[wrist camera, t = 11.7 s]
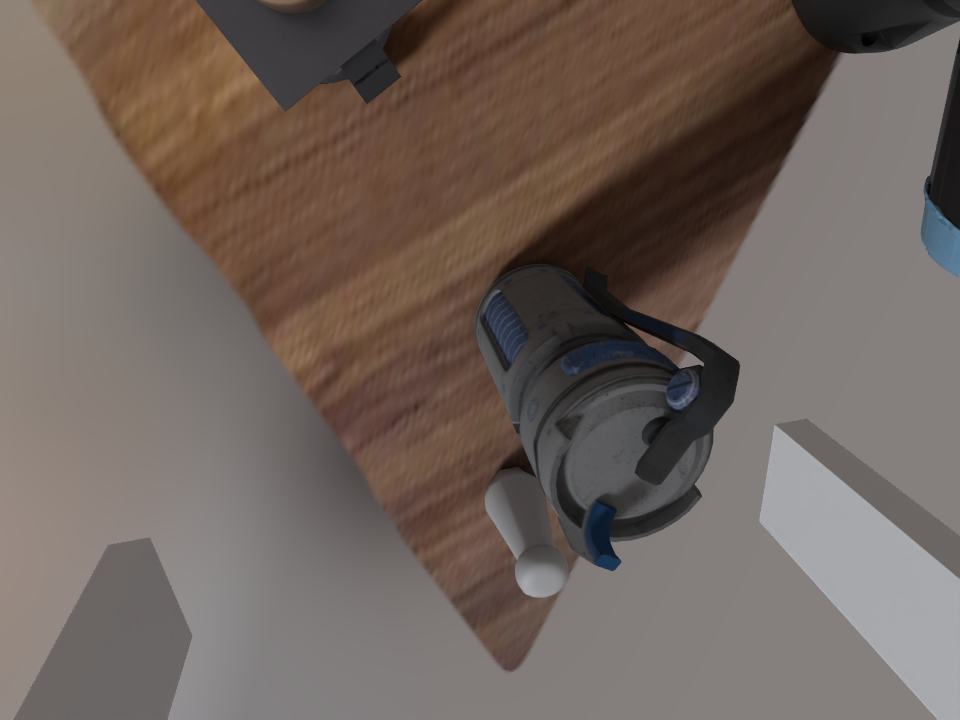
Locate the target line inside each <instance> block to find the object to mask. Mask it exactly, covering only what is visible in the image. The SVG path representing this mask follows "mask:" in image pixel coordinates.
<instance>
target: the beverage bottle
mask: <svg viewBox="0 0 960 720" xmlns="http://www.w3.org/2000/svg"><path fill="white" fill-rule="evenodd" d="M624 322H625V323H626V324H628V325H630V326H633V327H635V328H637V329H639V330H641V331H644V332H646V333H648V334H650V335H652V336H655V337H657V338H659V339H661V340H663V341H666V342H668V343H670V344H672V345H674V346H676V347H679V348H681V349H683V350H685V351H687V352H690V353H692V354H693V355H694V356H696V357H697V358H698V359H700V360H701V361H702V362H704V367H703V366H701V365H696V366H691V367H686V368H681V369H679V368H678V367H677V366H676V365H675V364H674V363H673V362H672V361H671V360H669V359H668V358H667V357H666V356H665V355H663V354H662V353H660V352H659V351H657V350H656V349H655V348H652V347H650V346H648V345H647V344H646V343H645V341H644V340H643V339H642V338H641V337H640V336H639V335H637V334H636V333H635V332H634V331H633V330H632V329H631V328H629V327H628V326H627V325H626V324H625V323H624ZM475 335H476V341H477V343H478V345H479V348H480V350H481V352H482V355H483V357H484V359H485V362H486V364H487V366H488V368H489V371H490V373H491V375H492V378H493V380H494V382H495V384H496V387H497V389H498V391H499V393H500V396H501V398H502V400H503V403H504V405H505V407H506V409H507V412H508V414H509V416H510V418H511V421H512V423H513V425H514V428H515V430H516V432H517V434H518V435H519V437H520V438H521V442H522V445H523V447H524V449H525V452H526V454H527V457H528V459H529V461H530V463H531V466H532V468H533V470H534V473H535V475H536V477H537V479H538V482H539V484H540V486H541V488H542V491H543V493H544V494H545V496H546V497H547V499H548V501H549V504H550V505H551V507H552V508H553V509H554V511H555V512H556V513H557V515H558V520H559V523H560V525H561V527H562V529H563V532H564V534H565V536H566V538H567V540H568V543H569V545H570V547H571V549H572V551H573V552H575V553H576V554H578V555H579V556H581V557H583V558H584V559H586V560H587V561H589V562H591V563H592V564H594V565H596V566H599V567H602V568H605V569H608V570H611V571H614V570H615V569H616V568H617V567H618V566H619V565H620V563H621V560H620V559H619V558H618V557H617V556H616V554H615V552H614V550H613V548H612V546H611V543H610V541H612V542H618V541H627V540H634V539H638V538H642V537H645V536H648V535H651V534H653V533H656V532H658V531H660V530H663V529H664V528H666V527H668V526H669V525H671V524H673V523H674V522H676V521H677V520H679V519H680V518H681V517H682V516H684V515H685V514H686V513H687V512H689V511H690V510H691V509H692V507H693V506H694V505H695V504H696V503H697V502H698V501H699V500H700V498H701V497H702V495H701V493H700V491H699V490H698V488H697V487H696V486H695V485H694V484H695V482H696V481H697V480H698V478H699V477H700V475H701V474H702V472H703V470H704V468H705V466H706V464H707V462H708V459H709V457H710V453H711V449H712V445H713V428H714V426H715V425H716V424H717V422H718V421H719V420H720V419H721V417H722V416H723V415H724V413H725V412H726V411H727V410H728V408H729V407H730V406H731V404H732V403H733V401H734V396H735V391H736V386H737V381H738V376H739V369H740V364H739V361H737V360H736V359H735V358H733V357H732V356H731V355H729V354H728V353H726V352H725V351H723V350H722V349H721V348H719V347H718V346H716V345H715V344H714V343H712V342H710V341H708V340H707V339H705V338H703V337H701V336H700V335H697V334H695V333H692V332H689V331H687V330H684V329H681V328H679V327H676V326H673V325H671V324H668V323H666V322H663V321H660V320H658V319H655V318H652V317H650V316H647V315H644V314H642V313H639V312H637V311H634V310H631V309H629V308H628V307H627V306H625V305H624V304H623V303H622V302H620V301H619V300H618V299H617V298H615V297H614V296H613V295H611V294H610V293H609V292H608V291H607V275H602V274H600V273H598V272H597V271H595V270H593V269H591V268H589V267H587V270H586V275H585V279H584V284H582V283H581V282H580V281H579V280H578V279H577V278H576V277H575V276H574V275H572V274H571V273H569V272H568V271H567V270H564V269H562V268H560V267H557V266H554V265H548V264H530V265H525V266H521V267H518V268H516V269H513V270H511V271H509V272H507V273H506V274H504V275H503V276H501V277H500V278H498V279H497V280H496V281H495V282H494V283H493V284H492V285H491V286H490V287H489V288H488V290H487V291H486V293H485V294H484V295H483V297H482V299H481V301H480V303H479V306H478V308H477V312H476V316H475Z"/></svg>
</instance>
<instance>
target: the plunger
mask: <svg viewBox="0 0 960 720" xmlns="http://www.w3.org/2000/svg"><path fill="white" fill-rule="evenodd" d="M257 1H259V2H260V3H262V4H263V5H265V6H267V7H269V8H271V9H273V10H276V11H279V12H283V13H290V14H298V13H304V12H308V11H311V10H313V9H315V8H317V7H319V6H321V5H322V4H323V3H325V2H326V1H327V0H257Z"/></svg>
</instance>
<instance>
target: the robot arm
mask: <svg viewBox="0 0 960 720" xmlns="http://www.w3.org/2000/svg"><path fill="white" fill-rule="evenodd" d="M792 3H793V6H794V8H795V11H796V13H797V15H798V17H799V19H800V21H801V22H802V24H803V26H804V27H805V28H806V30H807V31H808V32H809V33H810V34H811V35H812V36H813V37H814V38H815V39H816V40H817V41H819V42H820V43H821V44H823V45H825V46H826V47H828V48H830V49H833V50H836V51H839V52H843V53H854V54H856V53H876V52H885V51H890V50H894V49H898V48H901V47H904V46H907V45H909V44H911V43H914V42H916V41H918V40H920V39H922V38H924V37H926V36H928V35H931V34H933V33H935V32H937V31H939V30H941V29H943V28H945V27H947V26H949V25H952V24H954V23H956V22H958V21H960V0H792ZM924 196H925V208H924V214H923V221H922V227H921V239H922V242H923V244H924V246H925V247H926V250H927V251H928V254H929V255H930V257H931V258H932V259H933V260H934V261H935V262H936V263H937V264H939V265H940V266H941V267H942V268H944V269H945V270H947V271H948V272H950V273H952V274H953V275H955V276H957V277H959V278H960V40H959V44H958V49H957V52H956V56H955V61H954V66H953V70H952V75H951V80H950V85H949V89H948V94H947V99H946V104H945V108H944V113H943V118H942V123H941V127H940V132H939V137H938V141H937V146H936V151H935V156H934V161H933V166H932V170H931V175H930V176H928V177H927V179H926V182H925V185H924ZM760 523H761V524H762V525H763V526H764V527H765V528H766V529H767V530H768V531H769V532H770V534H771V535H772V536H773V537H774V538H775V539H776V540H777V542H778V543H779V544H780V545H781V546H782V547H783V548H784V549H785V550H786V551H787V553H788V554H789V555H790V556H791V557H792V558H793V559H794V560H795V561H796V563H797V564H798V565H799V566H800V567H801V568H802V569H803V570H804V572H806V574H807V575H808V576H809V577H810V578H811V579H812V580H813V582H814V583H815V584H816V585H817V586H818V587H819V588H820V589H821V590H822V591H823V593H824V594H825V595H826V596H827V597H828V598H829V599H830V600H831V602H832V603H833V604H834V605H835V606H836V607H837V608H838V609H839V610H840V611H841V613H842V614H843V615H844V616H845V617H846V618H847V619H848V620H849V622H850V623H851V624H852V625H853V626H854V627H855V628H856V629H857V630H858V632H859V633H860V634H861V635H862V636H863V637H864V638H865V639H866V640H867V642H868V643H869V644H870V645H871V646H872V647H873V648H874V649H875V650H876V651H877V653H878V654H879V655H880V656H881V657H882V658H883V659H884V661H885V662H886V663H887V664H888V665H889V666H890V667H891V668H892V669H893V670H894V672H895V673H896V674H897V675H898V676H899V677H900V678H901V679H902V681H903V682H904V683H905V684H906V685H907V686H908V687H909V688H910V689H911V690H912V692H913V693H914V694H915V695H916V696H917V697H918V698H919V699H920V700H921V702H922V703H923V704H924V705H925V706H926V707H927V708H928V709H929V711H930V712H931V713H932V714H933V715H934V716H935V717H936V718H937V719H938V720H960V536H959V535H958V534H957V533H955V532H954V531H952V530H951V529H950V528H949V527H947V526H946V525H945V524H944V523H942V522H941V521H940V520H938V519H937V518H936V517H934V516H933V515H932V514H930V513H929V512H928V511H927V510H925V509H924V508H923V507H921V506H920V505H919V504H917V503H916V502H915V501H913V500H912V499H911V498H909V497H908V496H907V495H906V494H904V493H903V492H902V491H900V490H899V489H898V488H896V487H895V486H894V485H892V484H891V483H890V482H888V481H887V480H886V479H885V478H883V477H882V476H881V475H879V474H878V473H877V472H875V471H874V470H873V469H872V468H870V467H869V466H868V465H866V464H865V463H863V462H862V461H861V460H860V459H858V458H857V457H856V456H855V455H853V454H852V453H851V452H849V451H848V450H847V449H845V448H844V447H843V446H841V445H840V444H839V443H838V442H836V441H835V440H834V439H832V438H831V437H830V436H828V435H827V434H826V433H824V432H823V431H822V430H821V429H819V428H818V427H817V426H815V425H814V424H813V423H811V422H810V421H809V420H807V419H803V420H797V421H792V422H787V423H781V424H775V427H774V433H773V439H772V446H771V452H770V458H769V464H768V471H767V477H766V483H765V490H764V496H763V502H762V508H761V514H760ZM191 638H192V634H191V632H190V629H189V627H188V625H187V622H186V620H185V618H184V615H183V613H182V611H181V608H180V606H179V604H178V601H177V599H176V597H175V595H174V592H173V590H172V587H171V585H170V583H169V581H168V578H167V576H166V574H165V571H164V569H163V567H162V564H161V562H160V560H159V558H158V555H157V553H156V550H155V548H154V546H153V543H152V541H151V539H150V538H145V539H139V540H134V541H128V542H123V543H117V544H112V545H108V546H107V548H106V550H105V552H104V554H103V555H102V557H101V559H100V561H99V563H98V565H97V567H96V569H95V570H94V572H93V574H92V576H91V578H90V580H89V581H88V583H87V585H86V587H85V589H84V590H83V593H82V594H81V596H80V598H79V600H78V602H77V604H76V605H75V607H74V609H73V611H72V613H71V614H70V616H69V618H68V620H67V622H66V624H65V626H64V628H63V629H62V631H61V633H60V635H59V637H58V639H57V641H56V642H55V644H54V646H53V648H52V650H51V652H50V654H49V655H48V657H47V659H46V661H45V663H44V664H43V666H42V668H41V670H40V672H39V674H38V676H37V677H36V680H35V681H34V683H33V685H32V687H31V689H30V690H29V692H28V694H27V696H26V698H25V700H24V701H23V703H22V705H21V707H20V709H19V711H18V712H17V714H16V716H15V718H14V720H167V718H168V715H169V712H170V708H171V705H172V702H173V698H174V695H175V692H176V689H177V685H178V682H179V679H180V675H181V672H182V669H183V665H184V662H185V659H186V655H187V652H188V649H189V645H190V642H191Z"/></svg>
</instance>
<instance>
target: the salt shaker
mask: <svg viewBox="0 0 960 720" xmlns="http://www.w3.org/2000/svg"><path fill="white" fill-rule="evenodd" d="M485 505H486V511H487V513H488V514H489V516H490V517H491V519H492V520H493V522H494V523H495V525H496V527H497V528H498V530H499V531H500V533H501V534H502V536H503V538H504V539H505V541H506V543H507V544H508V546H509V547H510V549H511V551H512V552H513V554H514V556H515V557H516V559H517V562H516V563H515V575H516V580H517V583H518V584H519V586H520V588H521V589H522V590H523V592H524V593H525V594H527V595H530V596H533V597H548V596H550V595H553V594H555V593H557V592H558V591H559V590H560V589H562V588H563V587H564V585H565V583H566V581H567V579H568V564H567V561H566V559H565V557H564V556H563V555H562V553H561V552H560V551H559V550H558V549H557V548H555V547H554V543H553V537H552V532H551V526H550V520H549V515H548V509H547V504H546V498H545V494H544V493H543V491H542V488H541V486H540V484H539V482H538V480H537V478H536V477H534V476H532V475H530V474H528V473H526V472H524V471H523V470H521V469H520V468H519V467H514V468H508V469H502V470H499V471H498V473H497V474H496V475H495V476H494V478H493V479H492V480H491V482H490V483H489V485H488V488H487V491H486V494H485Z"/></svg>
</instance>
